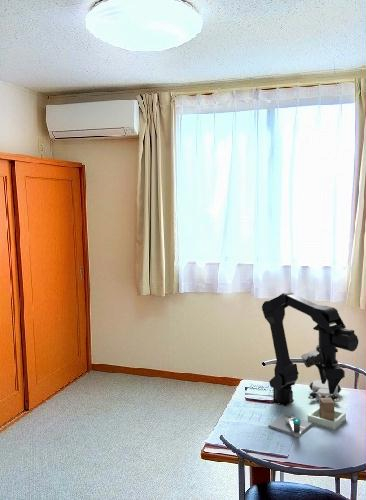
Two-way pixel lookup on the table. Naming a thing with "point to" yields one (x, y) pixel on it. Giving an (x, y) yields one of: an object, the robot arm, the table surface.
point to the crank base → (283, 427)
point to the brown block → (327, 409)
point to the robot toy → (323, 391)
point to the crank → (294, 425)
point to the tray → (338, 420)
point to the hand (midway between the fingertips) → (327, 388)
